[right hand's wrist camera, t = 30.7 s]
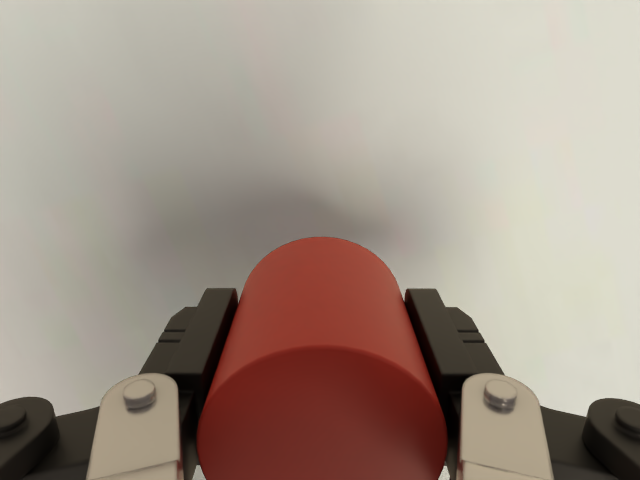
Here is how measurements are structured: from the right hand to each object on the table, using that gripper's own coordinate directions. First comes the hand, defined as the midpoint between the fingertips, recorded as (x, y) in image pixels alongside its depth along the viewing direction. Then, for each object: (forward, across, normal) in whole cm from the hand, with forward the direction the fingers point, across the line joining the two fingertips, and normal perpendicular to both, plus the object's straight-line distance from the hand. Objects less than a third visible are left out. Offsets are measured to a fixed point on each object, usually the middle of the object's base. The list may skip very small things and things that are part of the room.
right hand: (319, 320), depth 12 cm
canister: (0, 0, 0) cm, 0 cm away
